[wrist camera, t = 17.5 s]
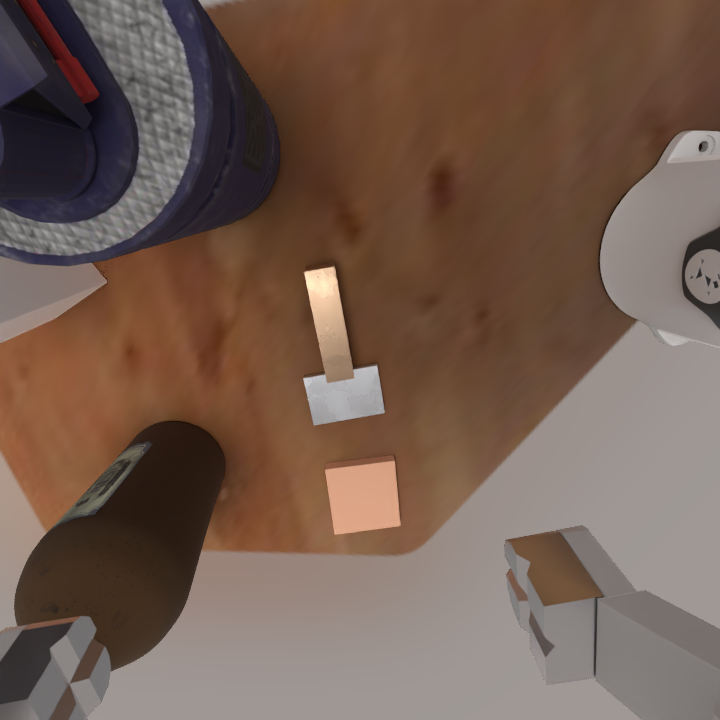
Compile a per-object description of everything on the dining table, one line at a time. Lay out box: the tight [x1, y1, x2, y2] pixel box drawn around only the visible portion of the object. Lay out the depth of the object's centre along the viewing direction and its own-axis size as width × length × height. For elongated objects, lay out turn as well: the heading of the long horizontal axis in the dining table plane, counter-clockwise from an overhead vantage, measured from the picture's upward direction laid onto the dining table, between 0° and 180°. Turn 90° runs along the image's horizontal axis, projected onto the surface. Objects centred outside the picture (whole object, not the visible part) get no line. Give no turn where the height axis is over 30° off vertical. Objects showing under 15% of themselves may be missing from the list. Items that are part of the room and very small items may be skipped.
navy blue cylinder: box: [0, 0, 280, 266], centre depth 23 cm, size 14×12×30 cm
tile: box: [325, 455, 400, 534], centre depth 48 cm, size 7×2×8 cm
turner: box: [303, 262, 385, 425], centre depth 42 cm, size 7×15×3 cm, turn 9°
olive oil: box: [14, 422, 225, 671], centre depth 34 cm, size 11×11×25 cm
